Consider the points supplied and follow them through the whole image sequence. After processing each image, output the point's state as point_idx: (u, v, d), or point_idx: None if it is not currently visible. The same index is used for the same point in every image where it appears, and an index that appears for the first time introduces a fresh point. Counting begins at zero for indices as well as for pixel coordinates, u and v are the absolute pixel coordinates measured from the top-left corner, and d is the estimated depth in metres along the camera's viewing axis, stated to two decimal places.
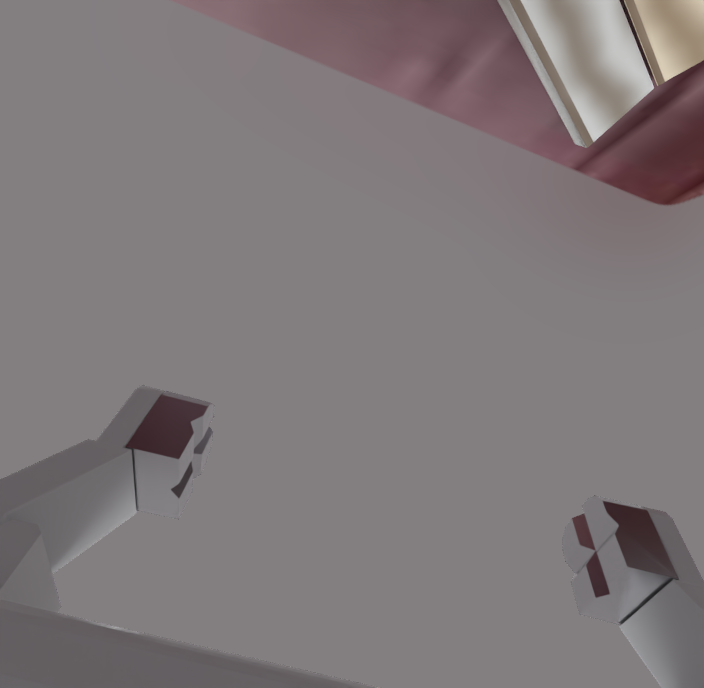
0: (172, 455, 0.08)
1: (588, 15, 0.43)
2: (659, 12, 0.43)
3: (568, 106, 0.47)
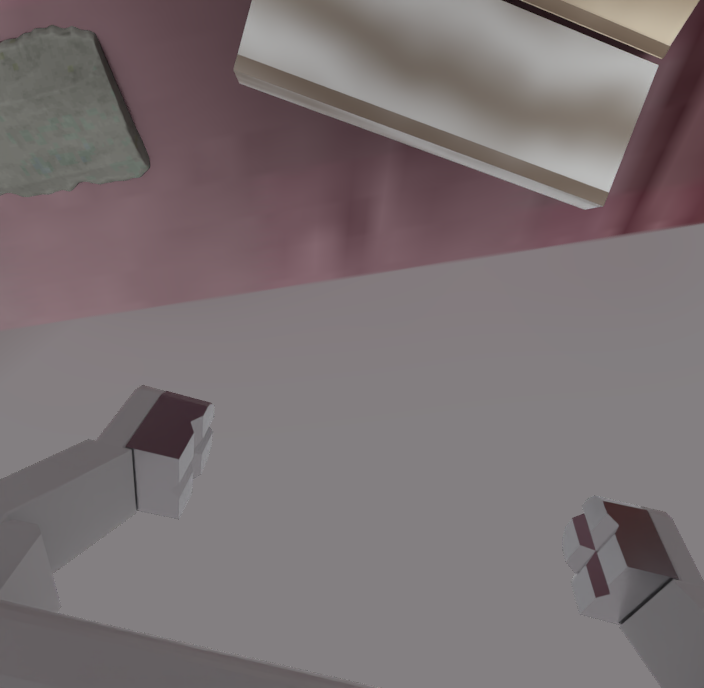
0: (172, 455, 0.08)
1: (467, 48, 0.26)
2: None
3: (526, 172, 0.27)
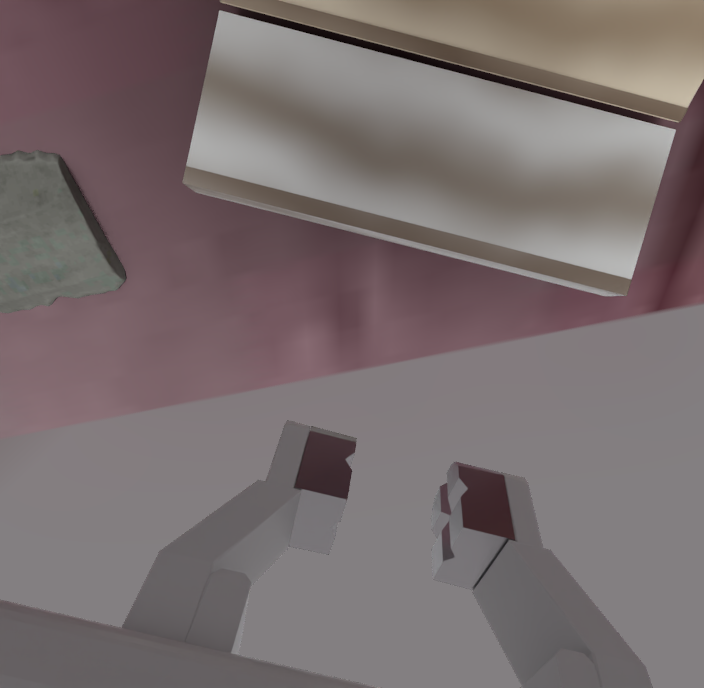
0: (338, 495, 0.08)
1: (444, 133, 0.23)
2: (566, 38, 0.21)
3: (527, 264, 0.23)
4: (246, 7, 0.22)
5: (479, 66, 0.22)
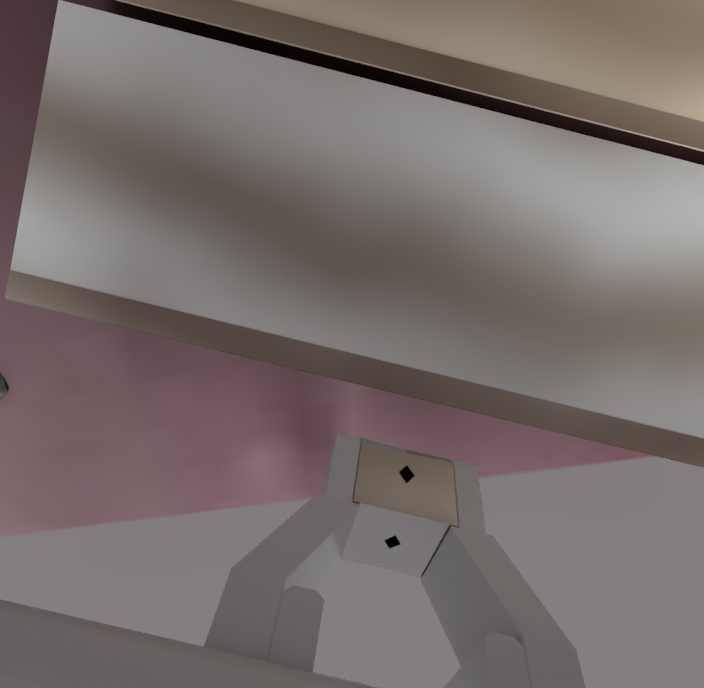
0: (395, 508, 0.08)
1: (455, 213, 0.13)
2: (679, 47, 0.12)
3: (597, 432, 0.14)
4: None
5: (517, 97, 0.13)
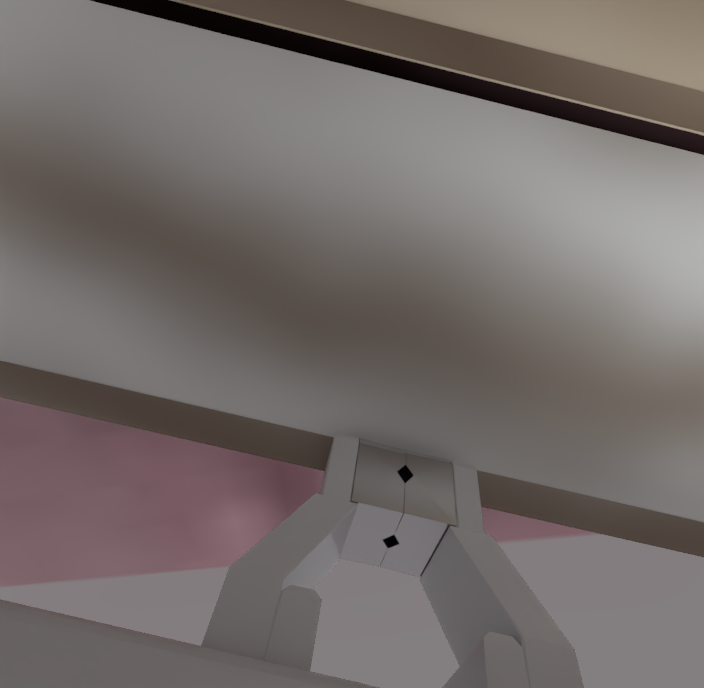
0: (394, 508, 0.08)
1: (470, 255, 0.10)
2: None
3: (644, 532, 0.11)
4: None
5: (562, 90, 0.09)
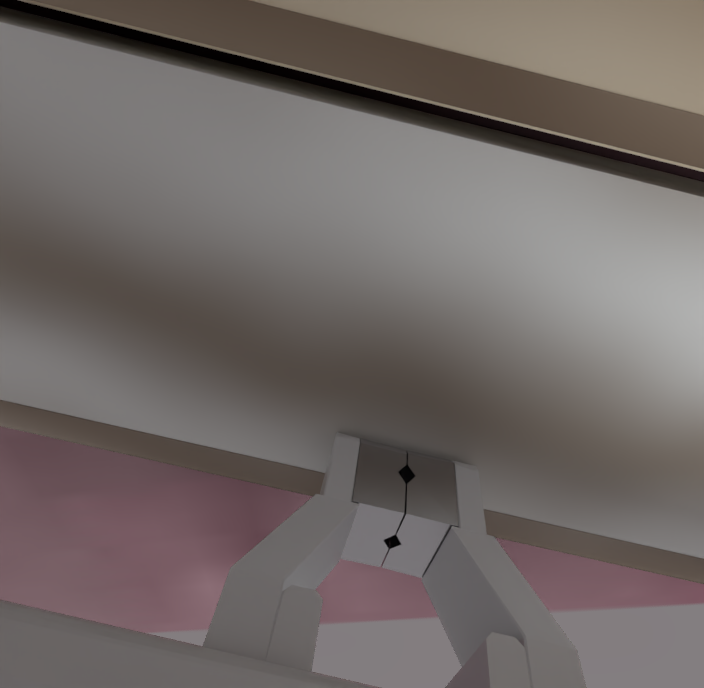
0: (395, 508, 0.08)
1: (463, 321, 0.08)
2: None
3: (621, 557, 0.11)
4: None
5: (596, 134, 0.07)
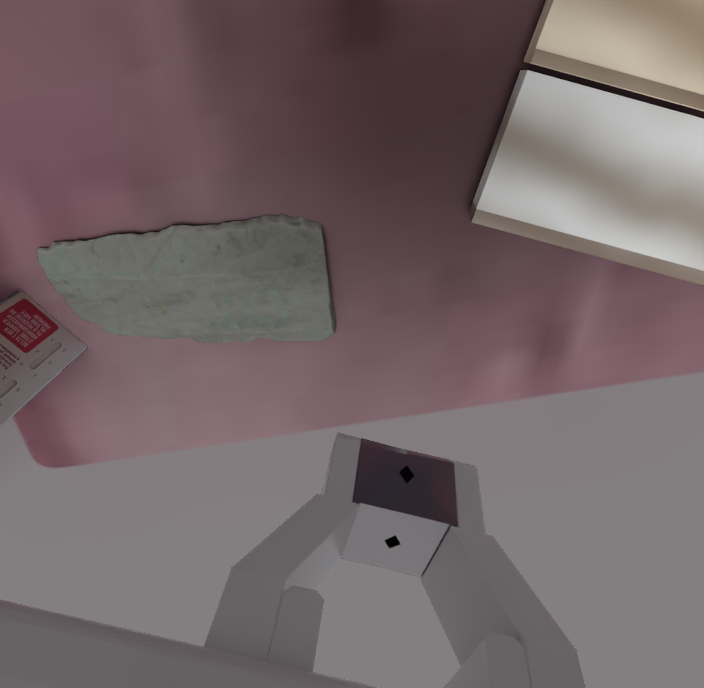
0: (396, 509, 0.08)
1: None
2: None
3: None
4: (554, 68, 0.24)
5: None
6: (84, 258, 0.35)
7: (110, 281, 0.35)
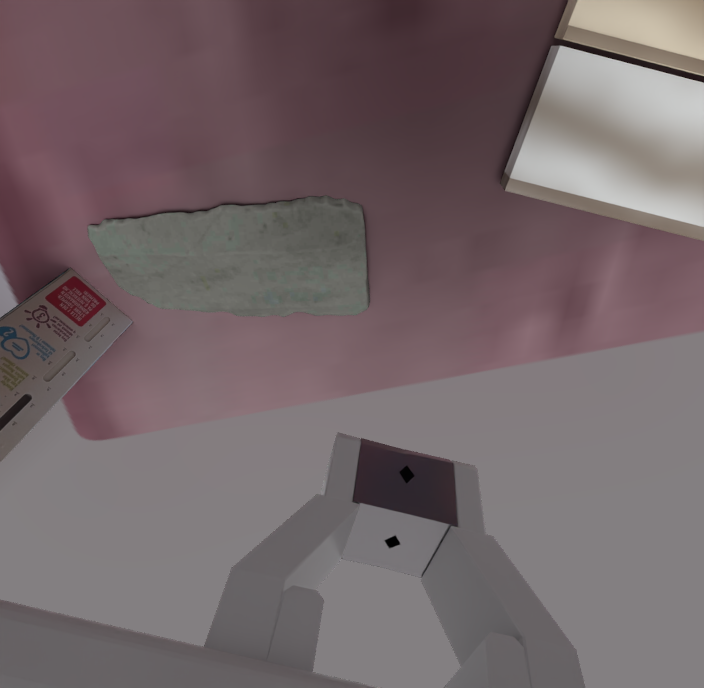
0: (396, 509, 0.08)
1: None
2: None
3: None
4: (585, 43, 0.26)
5: None
6: (135, 235, 0.37)
7: (160, 257, 0.38)
